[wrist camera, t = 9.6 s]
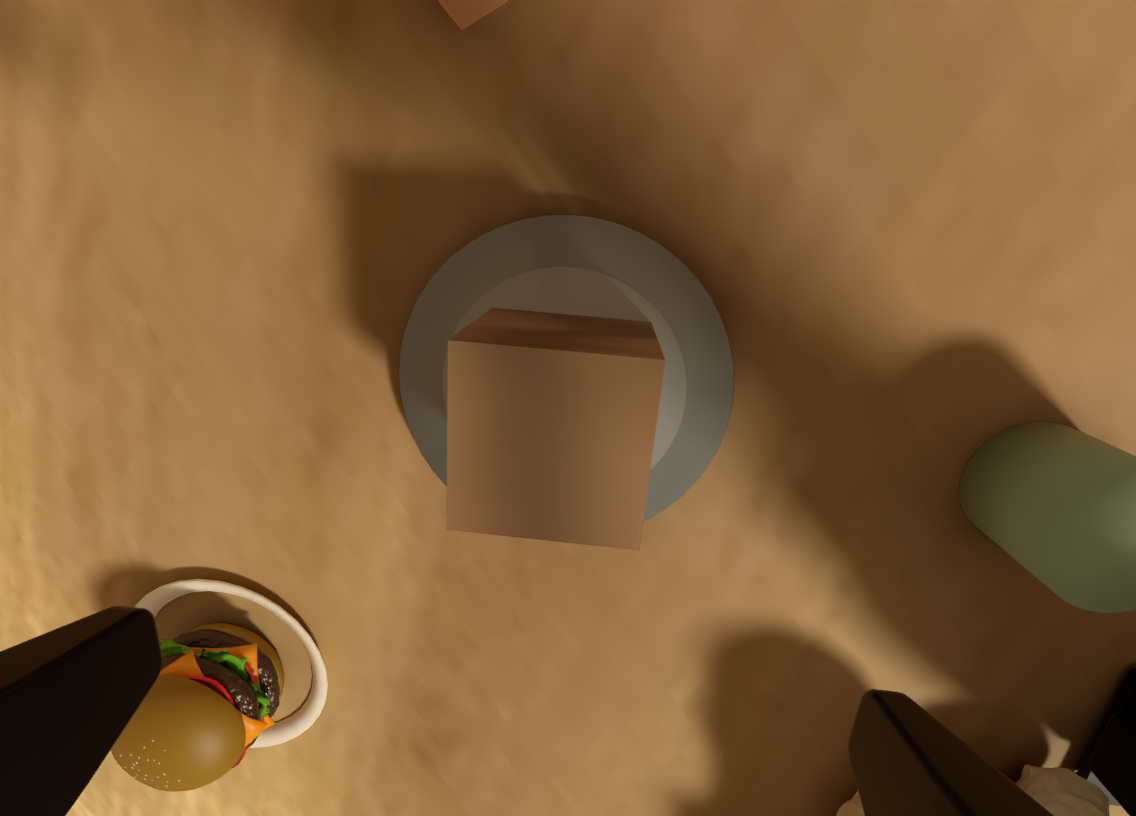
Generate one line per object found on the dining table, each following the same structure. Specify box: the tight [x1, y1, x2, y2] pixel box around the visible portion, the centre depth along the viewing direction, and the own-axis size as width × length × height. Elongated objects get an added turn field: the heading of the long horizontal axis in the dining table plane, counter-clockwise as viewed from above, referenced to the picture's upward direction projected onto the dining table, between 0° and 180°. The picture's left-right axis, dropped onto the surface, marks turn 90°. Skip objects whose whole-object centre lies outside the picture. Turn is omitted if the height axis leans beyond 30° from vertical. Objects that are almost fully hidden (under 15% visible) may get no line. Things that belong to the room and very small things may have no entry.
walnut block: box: [447, 308, 665, 550], centre depth 16 cm, size 5×5×5 cm
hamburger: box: [111, 579, 328, 791], centre depth 22 cm, size 12×12×6 cm
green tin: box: [959, 422, 1136, 613], centre depth 17 cm, size 4×4×4 cm
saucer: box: [399, 215, 734, 521], centre depth 19 cm, size 11×11×1 cm
